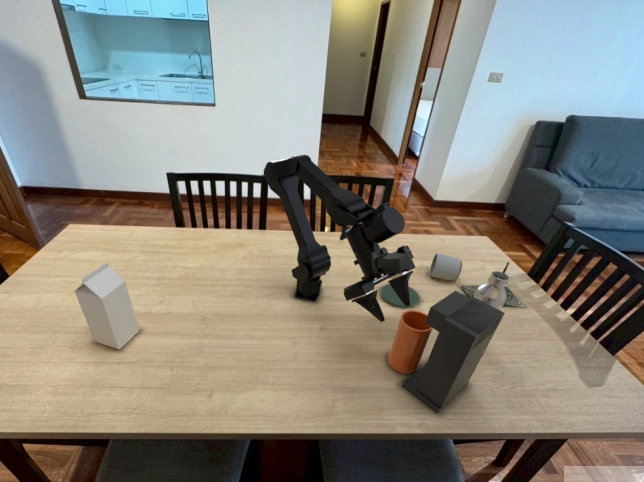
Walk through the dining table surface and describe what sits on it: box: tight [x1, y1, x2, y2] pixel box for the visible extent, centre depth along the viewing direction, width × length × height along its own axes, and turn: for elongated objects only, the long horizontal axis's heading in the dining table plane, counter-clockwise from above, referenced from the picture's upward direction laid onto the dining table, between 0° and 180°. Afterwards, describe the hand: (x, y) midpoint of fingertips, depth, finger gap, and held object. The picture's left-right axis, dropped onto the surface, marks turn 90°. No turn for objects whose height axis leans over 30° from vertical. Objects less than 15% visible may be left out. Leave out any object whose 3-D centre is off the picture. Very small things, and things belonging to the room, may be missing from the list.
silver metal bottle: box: [474, 270, 510, 311], centre depth 84 cm, size 6×7×20 cm
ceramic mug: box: [428, 252, 463, 282], centre depth 113 cm, size 11×8×8 cm
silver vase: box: [460, 259, 525, 308], centre depth 102 cm, size 15×10×13 cm
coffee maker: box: [401, 290, 506, 414], centre depth 72 cm, size 10×12×21 cm
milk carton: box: [74, 261, 140, 350], centre depth 80 cm, size 7×7×19 cm
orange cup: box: [387, 309, 434, 375], centre depth 79 cm, size 7×7×13 cm
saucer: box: [380, 283, 420, 309], centre depth 104 cm, size 11×11×1 cm
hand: (395, 313), depth 79 cm, fingers open, 9 cm apart
